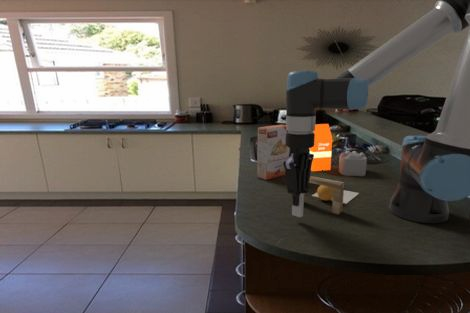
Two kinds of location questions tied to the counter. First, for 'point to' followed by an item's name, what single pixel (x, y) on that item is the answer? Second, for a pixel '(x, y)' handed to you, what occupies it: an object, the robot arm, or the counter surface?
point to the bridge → (337, 192)
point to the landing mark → (344, 196)
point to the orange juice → (321, 148)
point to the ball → (325, 192)
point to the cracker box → (271, 151)
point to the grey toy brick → (352, 163)
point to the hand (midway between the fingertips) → (297, 215)
